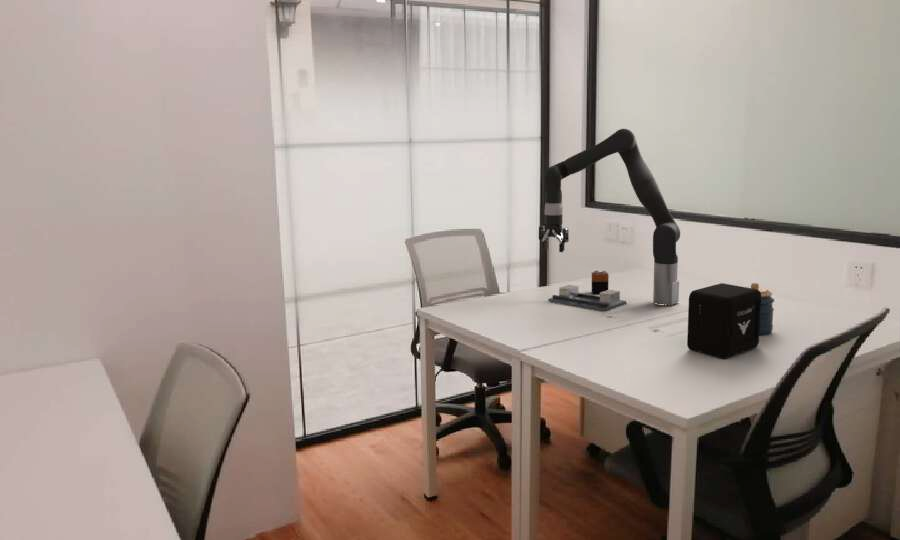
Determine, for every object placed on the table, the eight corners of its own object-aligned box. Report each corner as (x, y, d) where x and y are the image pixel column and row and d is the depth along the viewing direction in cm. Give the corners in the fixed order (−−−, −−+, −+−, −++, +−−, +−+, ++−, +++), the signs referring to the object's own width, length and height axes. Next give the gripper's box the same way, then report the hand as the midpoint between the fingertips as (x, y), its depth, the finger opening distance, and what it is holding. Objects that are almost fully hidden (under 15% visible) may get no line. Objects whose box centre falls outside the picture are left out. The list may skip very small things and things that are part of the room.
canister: (769, 338, 248) (772, 288, 244) (729, 333, 254) (731, 284, 251) (774, 328, 258) (777, 280, 255) (736, 324, 265) (738, 277, 262)
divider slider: (578, 295, 310) (578, 286, 309) (564, 299, 303) (564, 290, 302) (568, 293, 313) (568, 284, 313) (555, 298, 306) (555, 289, 306)
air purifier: (725, 361, 226) (728, 299, 222) (686, 350, 237) (688, 291, 233) (762, 348, 237) (765, 289, 233) (722, 338, 249) (725, 282, 245)
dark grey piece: (626, 303, 300) (626, 289, 298) (605, 311, 288) (605, 296, 287) (569, 294, 319) (569, 280, 317) (548, 301, 307) (548, 287, 306)
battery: (591, 292, 322) (591, 270, 320) (606, 291, 322) (606, 269, 320) (592, 294, 318) (593, 272, 316) (608, 294, 317) (608, 271, 315)
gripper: (572, 213, 306) (572, 251, 309) (545, 211, 315) (545, 248, 319) (562, 215, 300) (562, 254, 304) (534, 213, 310) (534, 250, 313)
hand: (553, 251), depth 311 cm, fingers open, 8 cm apart
